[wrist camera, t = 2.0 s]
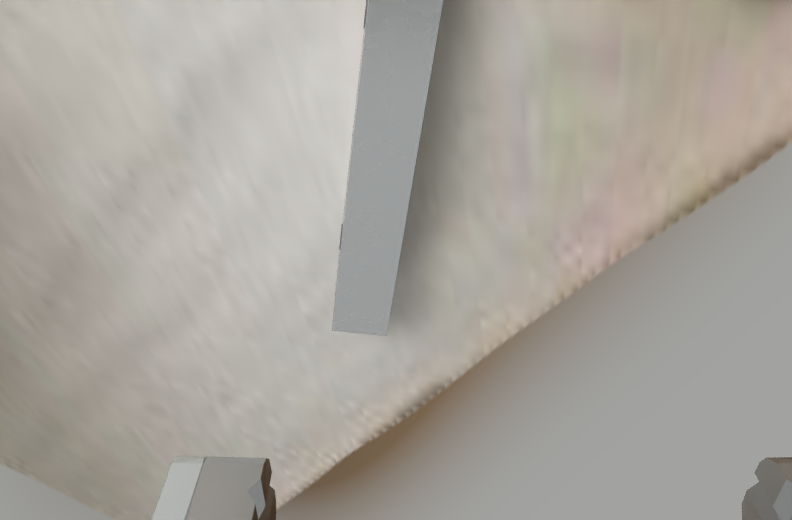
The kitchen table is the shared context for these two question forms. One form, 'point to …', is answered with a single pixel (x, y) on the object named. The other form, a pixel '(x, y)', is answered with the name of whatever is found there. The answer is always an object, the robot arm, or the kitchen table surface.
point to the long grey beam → (383, 157)
